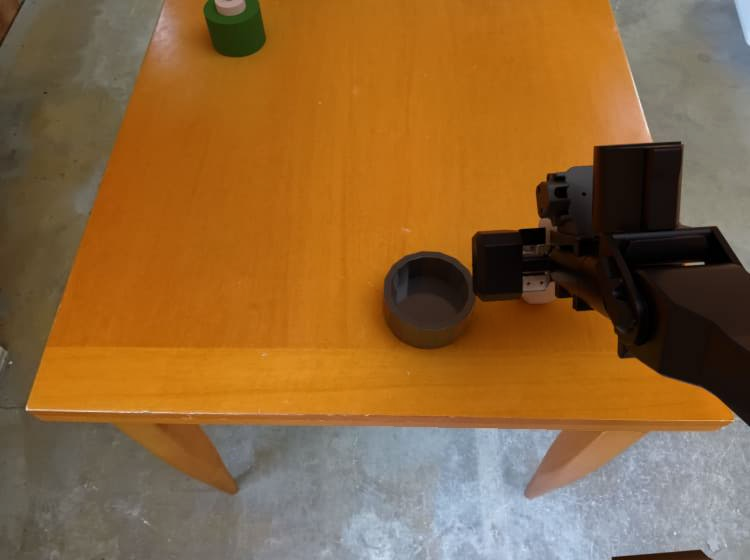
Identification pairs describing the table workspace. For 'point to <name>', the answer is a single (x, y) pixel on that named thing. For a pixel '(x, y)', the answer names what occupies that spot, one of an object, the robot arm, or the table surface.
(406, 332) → the holder
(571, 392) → the table surface
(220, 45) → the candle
